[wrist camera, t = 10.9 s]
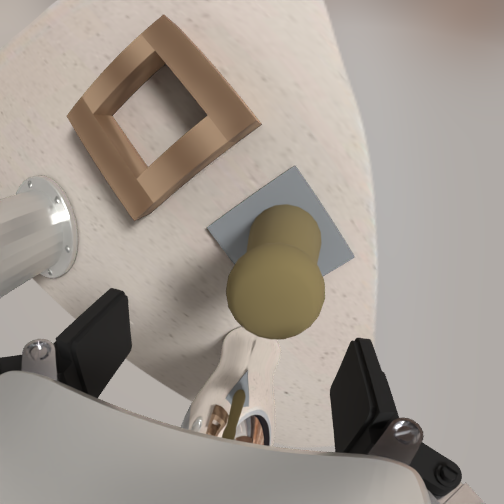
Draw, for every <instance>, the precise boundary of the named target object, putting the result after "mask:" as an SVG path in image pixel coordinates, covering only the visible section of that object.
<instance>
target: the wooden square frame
mask: <svg viewBox="0 0 504 504" xmlns="http://www.w3.org/2000/svg"><path fill="white" fill-rule="evenodd" d="M165 64H167V65H168V67H169V68H170V69H171V70H172V72H173V73H174V74H175V75H176V76H177V78H178V79H179V80H180V81H181V82H182V84H183V85H184V86H185V87H186V89H187V90H188V91H189V92H190V94H191V95H192V96H193V97H194V99H195V100H196V101H197V102H198V104H199V105H200V106H201V107H202V109H203V110H204V111H205V113H206V114H207V115H208V116H206V117H205V118H204V119H203V120H201V121H200V122H199V123H198V124H197V125H195V126H194V127H193V128H192V129H191V130H189V131H188V132H187V133H186V134H185V135H183V136H182V137H181V138H180V139H179V140H178V141H177V142H175V143H174V144H173V145H172V146H171V147H170V148H169V149H168V150H166V151H165V152H164V153H163V154H162V155H161V156H160V157H159V158H158V159H157V160H156V161H154V162H153V163H152V164H151V165H150V166H149V167H148V166H147V165H146V164H145V162H144V161H143V159H142V158H141V157H140V155H139V154H138V152H137V151H136V149H135V148H134V147H133V145H132V144H131V142H130V141H129V139H128V138H127V136H126V135H125V134H124V132H123V131H122V129H121V128H120V126H119V125H118V123H117V122H116V120H115V119H114V118H113V116H112V115H113V114H114V113H115V112H116V111H117V110H118V109H119V108H120V107H121V106H122V105H123V104H124V103H125V102H126V101H127V100H128V99H129V97H130V96H131V95H132V94H133V93H134V92H135V91H136V90H138V89H139V88H140V87H141V86H142V85H143V84H144V83H145V82H146V81H147V80H148V79H149V78H150V77H151V76H152V75H153V74H154V73H156V72H157V71H158V70H159V69H160V68H161V67H162V66H163V65H165ZM67 118H68V119H69V121H70V123H71V124H72V126H73V128H74V130H75V131H76V133H77V135H78V136H79V138H80V140H81V141H82V143H83V144H84V146H85V148H86V149H87V151H88V152H89V154H90V156H91V157H92V159H93V160H94V162H95V164H96V165H97V167H98V168H99V170H100V171H101V173H102V174H103V176H104V177H105V179H106V180H107V182H108V183H109V185H110V186H111V188H112V189H113V191H114V192H115V194H116V195H117V197H118V198H119V200H120V201H121V203H122V204H123V206H124V207H125V208H126V210H127V211H128V213H129V214H130V216H131V217H132V218H133V220H134V221H135V220H137V219H140V218H142V217H144V216H146V215H148V214H150V213H152V212H153V211H154V210H155V209H156V208H157V207H158V206H160V205H161V204H162V203H163V202H164V201H165V200H166V199H168V198H169V197H170V196H171V195H172V194H173V193H174V192H176V191H177V190H178V189H179V188H180V187H182V186H183V185H184V184H185V183H186V182H188V181H189V180H190V179H191V178H192V177H194V176H195V175H196V174H197V173H199V172H200V171H201V170H202V169H204V168H205V167H206V166H207V165H209V164H210V163H211V162H212V161H214V160H215V159H216V158H217V157H219V156H220V155H221V154H223V153H224V152H225V151H227V150H228V149H229V148H230V147H232V146H233V145H234V144H236V143H237V142H238V141H240V140H241V139H243V138H244V137H245V136H247V135H248V134H249V133H251V132H252V131H253V130H255V129H256V128H258V127H259V126H260V125H262V124H261V123H260V121H259V120H258V119H257V118H256V116H255V115H254V114H253V112H252V111H251V110H250V109H249V107H248V106H247V105H246V104H245V102H244V101H243V100H242V99H241V97H240V96H239V95H238V94H237V93H236V91H235V90H234V89H233V88H232V87H231V85H230V84H229V83H228V82H227V81H226V79H225V78H224V77H223V76H222V75H221V73H220V72H219V71H218V70H217V69H216V68H215V67H214V65H213V64H212V63H211V62H210V61H209V60H208V59H207V57H206V56H205V55H204V54H203V53H202V52H201V51H200V50H199V49H198V47H197V46H196V45H195V44H194V43H193V42H192V41H191V40H190V39H189V38H188V37H187V36H186V34H185V33H184V32H183V31H182V30H181V29H180V28H179V27H178V26H177V25H176V24H174V23H173V22H172V21H171V20H170V19H169V18H167V17H166V16H165V15H163V16H161V17H160V18H159V19H158V20H156V21H155V22H154V23H153V24H152V25H151V26H149V27H148V28H147V29H146V30H145V31H144V32H143V33H141V34H140V35H139V36H138V37H137V38H136V39H135V40H134V41H133V42H132V43H131V44H130V45H129V46H128V47H126V48H125V49H124V50H123V51H122V52H121V53H120V54H119V55H118V56H117V57H116V58H115V59H114V61H113V62H112V63H111V64H110V65H109V66H108V67H107V68H106V69H105V70H104V71H103V72H102V73H101V74H100V76H99V77H98V78H97V79H96V80H95V81H94V82H93V84H92V85H91V86H90V87H89V88H88V89H87V91H86V92H85V93H84V94H83V96H82V97H81V98H80V99H79V100H78V102H77V103H76V104H75V106H74V107H73V108H72V109H71V111H70V112H69V113H68V115H67Z"/></svg>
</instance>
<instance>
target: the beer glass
mask: <svg viewBox="0 0 504 504" xmlns="http://www.w3.org/2000/svg"><path fill="white" fill-rule="evenodd" d="M280 358H281V348H280V345H279V343H278V341H277V340H276V339H273V340H270V339H266V338H262V337H258V336H256V335H254V334H252V333H250V332H248V331H247V330H246V329H245V328H243V327H240V328H237V329H234V330H232V331H231V332H229V333H228V334H227V335H226V337H225V338H224V340H223V343H222V348H221V357H220V361H219V364H218V366H217V368H216V369H215V370H214V372H213V373H212V375H211V376H210V377H209V379H208V380H207V381H206V383H205V384H204V386H203V387H202V388H201V390H200V391H199V392H198V394H197V396H196V397H195V399H194V400H193V402H192V404H191V405H190V407H189V409H188V411H187V414H186V415H185V418H184V420H183V423H182V425H181V428H184V429H188V430H192V431H195V432H199V433H204V434H208V435H212V436H216V437H221V438H226V439H231V440H236V441H241V442H247V443H253V444H259V445H265V446H272V447H273V444H274V438H275V429H276V411H275V399H274V388H273V377H274V373H275V370H276V368H277V366H278V363H279V361H280Z"/></svg>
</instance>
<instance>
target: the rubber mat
mask: <svg viewBox="0 0 504 504" xmlns="http://www.w3.org/2000/svg"><path fill="white" fill-rule="evenodd" d="M284 204H288V205H293V206H297V207H300V208H301V209H303V210H305V211H306V212H308V213H309V214H310V215H311V216H312V217H313V218H314V219H315V221H316V222H317V224H318V227H319V229H320V232H321V248H320V253H319V258H318V263H317V265H318V267H319V269H320V272H321V274H322V277H323V276H325V275H326V274H328V273H330V272H331V271H333V270H335V269H336V268H338V267H340V266H341V265H343V264H345V263H346V262H348V261H350V260H351V259H353V258H354V255H353V253H352V251H351V250H350V248H349V246H348V245H347V243H346V242H345V240H344V238H343V237H342V235H341V233H340V232H339V230H338V229H337V227H336V226H335V224H334V222H333V221H332V219H331V218H330V216H329V215H328V213H327V211H326V210H325V208H324V207H323V205H322V204H321V202H320V201H319V199H318V198H317V196H316V195H315V193H314V192H313V190H312V189H311V187H310V186H309V184H308V183H307V182H306V180H305V179H304V177H303V176H302V174H301V173H300V171H299V170H298V169H297V167H296V166H293V167H292V168H290V169H289V170H287V171H286V172H285V173H283V174H282V175H280V176H279V177H277V178H276V179H274V180H273V181H271V182H270V183H269V184H267V185H266V186H264V187H263V188H261V189H260V190H258V191H257V192H256V193H254V194H253V195H251V196H250V197H249V198H247V199H246V200H244V201H243V202H242V203H240V204H239V205H237V206H236V207H235V208H233V209H232V210H230V211H229V212H228V213H226V214H225V215H223V216H222V217H221V218H219V219H218V220H217V221H215V222H214V223H213V224H211V225H210V226H208V227H207V229H208V230H209V231H210V233H211V234H212V235H213V237H214V238H215V239H216V241H217V242H218V243H219V245H220V246H221V247H222V249H223V250H224V251H225V253H226V254H227V255H228V257H229V258H230V259H231V261H232V262H233V263H234V265H235V264H236V262H237V260H238V259H239V258H240V257H242V256H243V255H244V254H245V253H246V252H247V245H248V238H249V233H250V228H251V225H252V224H253V222H254V220H255V218H256V217H257V216H258V215H259V214H260V213H262V212H263V211H264V210H265V209H268V208H270V207H272V206H275V205H284Z"/></svg>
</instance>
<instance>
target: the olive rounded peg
mask: <svg viewBox="0 0 504 504" xmlns="http://www.w3.org/2000/svg"><path fill="white" fill-rule="evenodd" d="M320 248H321V232H320V229H319V227H318V224H317V222H316V221H315V219H314V218H313V217H312V216H311V215H310V214H309V213H308V212H306V211H305V210H303V209H301V208H300V207H297V206H293V205H288V204H284V205H275V206H272V207H270V208H268V209H265V210H264V211H263V212H262V213H260V214H259V215H258V216H257V217H256V218H255V220H254V222H253V224H252V225H251V228H250V233H249V238H248V245H247V252H246V253H245V254H244V255H243V256H242V257H240V258H239V259H238V260H237V262H236V264H235V265H234V267H233V269H232V271H231V272H230V274H229V276H228V282H227V288H226V296H227V301H228V307H229V309H230V311H231V313H232V314H233V316H234V318H235V320H236V321H237V322H238V323H239V324H240V325H241V326H242V327H243V328H245V329H246V330H247V331H248V332H250V333H252V334H254V335H256V336H258V337H262V338H266V339H270V340H273V339H286V338H289V337H293V336H296V335H298V334H300V333H301V332H303V331H304V330H306V329H307V328H309V327H310V326H311V325H312V324H313V322H314V321H315V320H316V319H317V317H318V316H319V314H320V311H321V308H322V306H323V303H324V300H325V284H324V279H323V277H322V274H321V272H320V269H319V267H318V265H317V263H318V258H319V253H320Z"/></svg>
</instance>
